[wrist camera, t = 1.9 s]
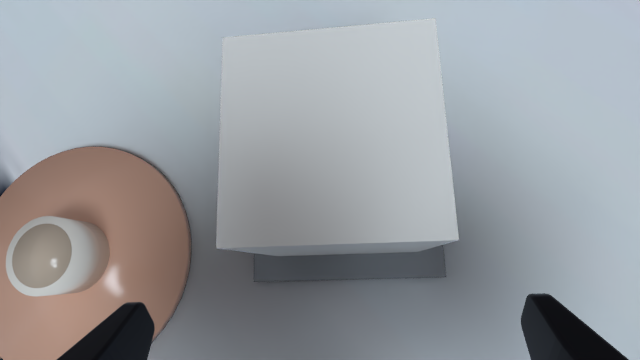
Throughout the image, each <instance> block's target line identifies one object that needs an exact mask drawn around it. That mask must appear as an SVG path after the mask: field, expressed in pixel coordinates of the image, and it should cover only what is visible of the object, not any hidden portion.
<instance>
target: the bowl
mask: <svg viewBox="0 0 640 360" xmlns="http://www.w3.org/2000/svg"><path fill="white" fill-rule="evenodd" d="M109 256H110V249H109V243H108V240H107V237H106V235H105V234H104V232H103V231H102V230H101V229H100V228H99V227H98V226H96V225H94V224H92V223H90V222H85V221H79V220H73V219H67V218H60V217H54V216H43V217H39V218H36V219H33V220H31V221H30V222H28V223H27V224H25V225H24V226H23V227H22V228H21V229H20V230H19V231H18V232H17V233H16V234H15V236H14V237H13V239H12V241H11V243H10V245H9V247H8V250H7V255H6V272H7V275H8V278H9V280H10V282H11V283H12V285H13V286H14V287H15V288H16V289H17V290H18V291H19V292H21V293H23V294H25V295H28V296H35V297H38V296H49V295H60V294H71V293H79V292H82V291H85V290H87V289H89V288H90V287H92V286H93V285H94V284H95V283H97V282H98V280H99V279H100V278H101V277H102V275H103V274H104V272H105V270H106V268H107V265H108V261H109Z"/></svg>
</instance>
